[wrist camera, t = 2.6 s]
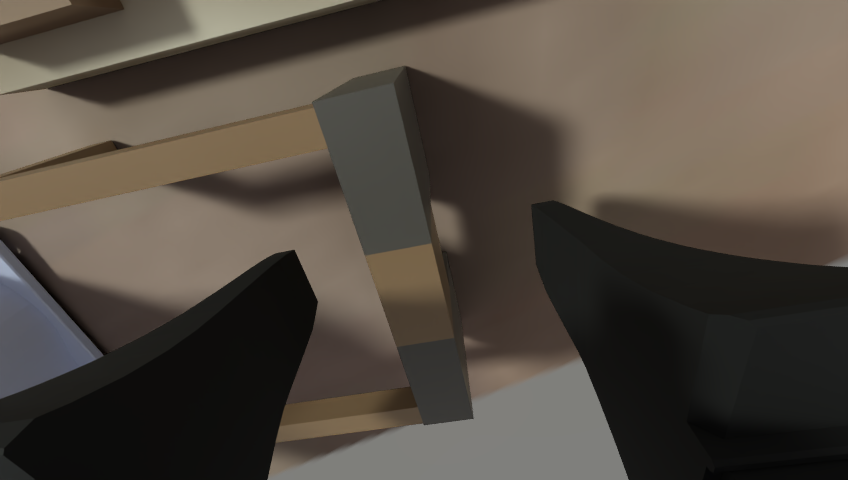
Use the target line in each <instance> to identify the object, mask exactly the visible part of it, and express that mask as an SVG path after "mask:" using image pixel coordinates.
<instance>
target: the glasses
mask: <svg viewBox="0 0 848 480" xmlns="http://www.w3.org/2000/svg"><path fill="white" fill-rule="evenodd" d="M327 148H328V150H329V153H330V156H331V159H332V162H333V165H334V168H335V170H336V173H337V176H338V179H339V182H340V185H341V188H342V191H343V194H344V196H345V199H346V202H347V205H348V208H349V211H350V214H351V217H352V219H353V222H354V225H355V228H356V231H357V234H358V237H359V240H360V243H361V245H362V248H363V251H364V254H365V257H366V260H367V263H368V266H369V268H370V271H371V274H372V277H373V280H374V283H375V286H376V289H377V291H378V294H379V297H380V300H381V303H382V306H383V309H384V312H385V315H386V317H387V320H388V323H389V326H390V329H391V332H392V335H393V338H394V340H395V343H396V346H397V349H398V352H399V355H400V358H401V361H402V363H403V366H404V369H405V372H406V375H407V378H408V381H409V384H410V387H405V388H398V389H391V390H384V391H377V392H370V393H363V394H356V395H349V396H342V397H335V398H329V399H322V400H315V401H308V402H301V403H294V404H287V405H285V407H284V411H283V415H282V419H281V423H280V426H279V430H278V434H277V438H276V442H275V443H278V442H285V441H293V440H301V439H308V438H316V437H323V436H331V435H338V434H346V433H353V432H361V431H368V430H376V429H384V428H391V427H399V426H406V425H414V424H421V423H423V424H424V425H428V424H436V423H444V422H452V421H459V420H466V419H473V411H472V402H471V394H470V386H469V378H468V370H467V362H466V354H465V346H464V338H463V330H462V322H461V317H460V312H459V308H458V303H457V299H456V294H455V290H454V285H453V280H452V276H451V271H450V267H449V262H448V258H447V253H446V252H443V253H442V252H441V247H440V243H439V238H438V234H437V230H436V225H435V221H434V216H433V212H432V207H431V200H430V176H429V171H428V167H427V162H426V157H425V153H424V148H423V144H422V139H421V135H420V130H419V126H418V121H417V116H416V112H415V107H414V103H413V98H412V94H411V89H410V85H409V80H408V75H407V71H406V66H402V67H398V68H394V69H390V70H385V71H381V72H377V73H373V74H369V75H365V76H361V77H357V78H353V79H351V80H349V81H348V82H346V83H344V84H342V85H341V86H339V87H337V88H336V89H334V90H332V91H330V92H329V93H327V94H325V95H323V96H322V97H320V98H318V99H317V100H315V101H313V102H312V104H310V105H305V106H301V107H297V108H293V109H289V110H284V111H280V112H276V113H272V114H267V115H263V116H259V117H255V118H251V119H246V120H242V121H238V122H234V123H229V124H225V125H221V126H217V127H213V128H208V129H204V130H200V131H196V132H191V133H187V134H183V135H179V136H175V137H170V138H166V139H162V140H158V141H154V142H149V143H145V144H141V145H137V146H132V147H128V148H124V149H120V150H117V149H116V147H115V145H114V144H113V142H112V141H106V142H102V143H98V144H94V145H90V146H87V147H84V148H81V149H77V150H74V151H71V152H68V153H65V154H62V155H59V156H56V157H53V158H50V159H47V160H44V161H41V162H37V163H34V164H31V165H28V166H25V167H22V168H19V169H16V170H13V171H10V172H7V173H4V174H1V175H0V221H3V220H7V219H12V218H16V217H21V216H25V215H30V214H34V213H39V212H43V211H48V210H52V209H57V208H61V207H66V206H70V205H75V204H79V203H84V202H88V201H93V200H97V199H102V198H106V197H111V196H115V195H120V194H124V193H129V192H133V191H138V190H142V189H147V188H151V187H156V186H160V185H165V184H169V183H174V182H178V181H183V180H187V179H192V178H196V177H201V176H205V175H210V174H214V173H219V172H223V171H228V170H232V169H237V168H241V167H246V166H250V165H255V164H259V163H264V162H268V161H273V160H277V159H282V158H286V157H291V156H295V155H300V154H304V153H309V152H313V151H318V150H322V149H327Z"/></svg>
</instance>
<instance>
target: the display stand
mask: <svg viewBox="0 0 848 480" xmlns="http://www.w3.org/2000/svg"><path fill="white" fill-rule="evenodd" d="M376 1H380V0H0V95H5V94H12V93H19V92H26V91H33V90H41V89H47V88H50V87H54V86H58V85H62V84H66V83H69V82H73V81H77V80H81V79H85V78H88V77H92V76H96V75H100V74H103V73H107V72H111V71H115V70H119V69H122V68H126V67H130V66H134V65H138V64H141V63H145V62H149V61H153V60H157V59H160V58H164V57H168V56H172V55H176V54H179V53H183V52H187V51H191V50H194V49H198V48H202V47H206V46H210V45H213V44H217V43H221V42H225V41H229V40H232V39H236V38H240V37H244V36H248V35H251V34H255V33H259V32H263V31H267V30H270V29H274V28H278V27H282V26H285V25H289V24H293V23H297V22H301V21H304V20H308V19H312V18H316V17H320V16H323V15H327V14H331V13H335V12H339V11H342V10H346V9H350V8H354V7H358V6H361V5H365V4H369V3H373V2H376Z"/></svg>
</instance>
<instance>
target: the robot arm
mask: <svg viewBox="0 0 848 480" xmlns="http://www.w3.org/2000/svg"><path fill="white" fill-rule="evenodd" d="M531 207H532V219H533V231H534V243H535V256H536V265H537V268H538V271H539V273H540V276H541V279H542V282H543V284H544V287H545V290H546V292H547V294H548V296H549V298H550V300H551V302H552V304H553V306H554V307H555V309H556V311H557V313H558V315H559V317H560V319H561V321H562V322H563V324H564V326H565V328H566V330H567V332H568V334H569V335H570V337H571V339H572V341H573V343H574V345H575V347H576V348H577V350H578V352H579V354H580V356H581V358H582V361H583V363H584V365H585V367H586V369H587V372H588V374H589V377H590V379H591V382H592V384H593V387H594V389H595V391H596V394H597V396H598V399H599V401H600V404H601V406H602V409H603V412H604V414H605V417H606V420H607V422H608V424H609V427H610V430H611V433H612V435H613V438H614V440H615V443H616V446H617V449H618V451H619V454H620V457H621V459H622V462H623V465H624V468H625V470H626V473H627V476H628V479H629V480H848V267H835V266H819V265H807V264H797V263H788V262H779V261H770V260H762V259H755V258H748V257H741V256H734V255H728V254H723V253H717V252H712V251H706V250H701V249H696V248H691V247H686V246H682V245H678V244H674V243H670V242H666V241H662V240H659V239H655V238H651V237H648V236H644V235H641V234H638V233H635V232H632V231H629V230H626V229H624V228H621V227H618V226H615V225H613V224H610V223H607V222H605V221H602V220H600V219H597V218H595V217H593V216H590V215H588V214H585V213H583V212H581V211H579V210H576V209H574V208H572V207H569V206H567V205H565V204H562V203H560V202H557V201H548V202H542V203H537V204H532V205H531ZM317 304H318V301H317V298H316V296H315V294H314V292H313V290H312V287H311V285H310V283H309V281H308V279H307V276H306V274H305V272H304V270H303V268H302V265H301V263H300V261H299V259H298V257H297V254H296V252H295V250H291V251H286V252H280V253H276V254H274V255H272V256H270V257H268V258H266V259H264V260H263V261H261V262H259V263H258V264H256V265H255V266H253V267H252V268H250V269H249V270H247V271H246V272H244V273H243V274H241V275H240V276H239V277H237V278H236V279H234V280H233V281H231V282H230V283H228V284H227V285H226V286H224V287H223V288H221V289H220V290H218V291H217V292H215V293H214V294H212V295H211V296H209V297H208V298H206V299H205V300H203V301H201V302H200V303H198V304H197V305H195V306H194V307H192V308H191V309H189V310H188V311H186V312H185V313H183V314H181V315H180V316H178V317H176V318H175V319H173V320H171V321H170V322H168V323H166V324H164V325H163V326H161V327H159V328H157V329H155V330H154V331H152V332H150V333H148V334H146V335H145V336H143V337H141V338H139V339H137V340H135V341H133V342H131V343H129V344H127V345H125V346H123V347H121V348H119V349H117V350H115V351H112V352H110V353H108V354H106V355H103V354H102V353H101V352H100V350H99V349H98V348H97V347H96V346H95V345H94V344H93V343H92V341H91V340H90V339H89V338H88V337H87V336H86V335H85V334H84V333H83V331H82V330H81V329H80V328H79V327H78V326H77V325H76V324H75V322H74V321H73V320H72V319H71V318H70V317H69V316H68V315H67V313H66V312H65V311H64V310H63V309H62V308H61V307H60V306H59V304H58V303H57V302H56V301H55V300H54V299H53V298H52V297H51V296H50V294H49V293H48V292H47V291H46V290H45V289H44V288H43V287H42V285H41V284H40V283H39V282H38V281H37V280H36V279H35V278H34V276H33V275H32V274H31V273H30V272H29V271H28V270H27V269H26V268H25V266H24V265H23V264H22V263H21V262H20V261H19V260H18V259H17V257H16V256H15V255H14V254H13V253H12V252H11V251H10V250H9V248H8V247H7V246H6V245H5V244H4V243H3V242H2V241H1V240H0V480H267V479H268V474H269V470H270V465H271V461H272V456H273V451H274V447H275V442H276V438H277V434H278V430H279V426H280V423H281V419H282V415H283V411H284V407H285V404H286V401H287V398H288V395H289V392H290V390H291V387H292V384H293V381H294V379H295V376H296V373H297V371H298V368H299V365H300V363H301V360H302V357H303V355H304V352H305V349H306V346H307V344H308V341H309V338H310V335H311V332H312V329H313V325H314V320H315V316H316V310H317Z"/></svg>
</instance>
